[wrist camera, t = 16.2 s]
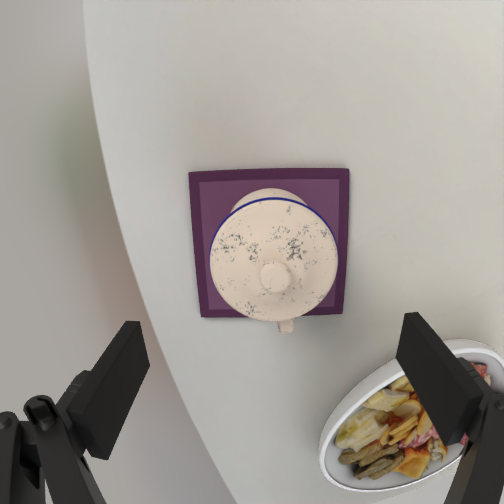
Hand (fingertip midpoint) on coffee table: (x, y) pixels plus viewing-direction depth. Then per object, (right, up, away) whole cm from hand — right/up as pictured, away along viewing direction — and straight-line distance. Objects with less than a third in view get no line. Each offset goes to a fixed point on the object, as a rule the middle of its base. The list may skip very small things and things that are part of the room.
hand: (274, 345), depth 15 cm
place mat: (+1, +5, +17) cm, 17 cm away
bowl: (+23, -19, +24) cm, 38 cm away
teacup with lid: (+1, +5, +16) cm, 17 cm away
